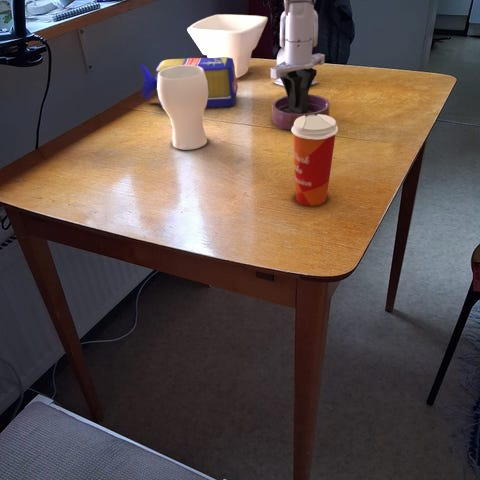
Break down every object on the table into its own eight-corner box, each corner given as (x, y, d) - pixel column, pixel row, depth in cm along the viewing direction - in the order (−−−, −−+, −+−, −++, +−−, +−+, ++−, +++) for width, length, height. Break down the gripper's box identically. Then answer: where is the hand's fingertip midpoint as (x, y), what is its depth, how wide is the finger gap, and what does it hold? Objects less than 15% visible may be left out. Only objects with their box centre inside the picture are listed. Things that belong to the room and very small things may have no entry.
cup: (219, 135, 112) (213, 65, 101) (202, 155, 105) (194, 81, 94) (178, 131, 115) (168, 63, 104) (158, 150, 107) (146, 78, 97)
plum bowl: (260, 121, 116) (260, 104, 114) (301, 106, 122) (301, 90, 119) (299, 137, 108) (299, 119, 106) (340, 120, 114) (341, 103, 111)
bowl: (217, 64, 153) (213, 13, 143) (273, 69, 146) (273, 16, 136) (187, 83, 141) (181, 28, 131) (247, 89, 134) (245, 32, 124)
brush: (283, 119, 115) (283, 87, 110) (295, 114, 117) (295, 83, 112) (300, 126, 111) (301, 93, 107) (312, 121, 113) (314, 88, 108)
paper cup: (287, 190, 91) (288, 115, 82) (327, 186, 91) (332, 111, 82) (293, 211, 86) (295, 133, 76) (336, 207, 86) (343, 128, 76)
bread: (236, 109, 123) (233, 65, 116) (142, 111, 126) (133, 68, 119) (239, 95, 131) (237, 53, 124) (150, 97, 133) (143, 56, 126)
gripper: (286, 49, 97) (285, 117, 106) (336, 34, 103) (331, 100, 113) (263, 43, 101) (265, 109, 111) (313, 29, 107) (310, 93, 117)
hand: (297, 104), depth 112 cm, fingers closed on brush, 2 cm apart
